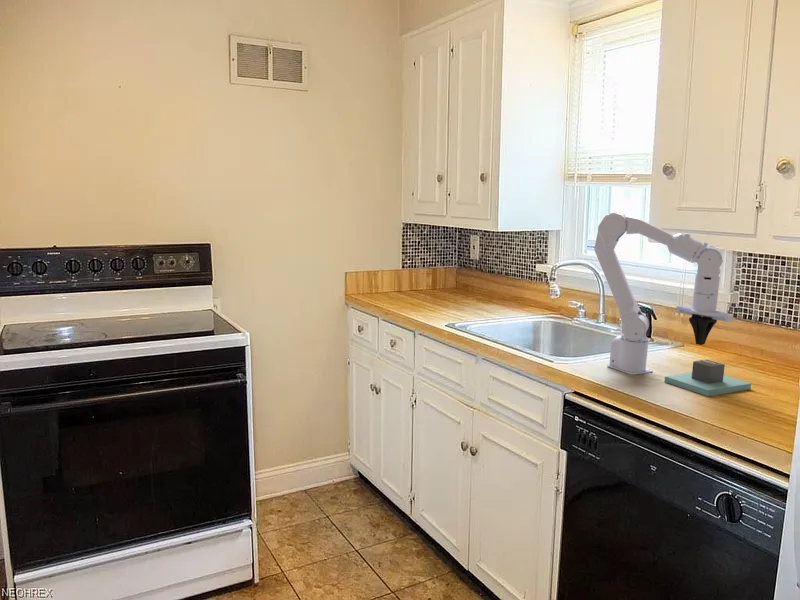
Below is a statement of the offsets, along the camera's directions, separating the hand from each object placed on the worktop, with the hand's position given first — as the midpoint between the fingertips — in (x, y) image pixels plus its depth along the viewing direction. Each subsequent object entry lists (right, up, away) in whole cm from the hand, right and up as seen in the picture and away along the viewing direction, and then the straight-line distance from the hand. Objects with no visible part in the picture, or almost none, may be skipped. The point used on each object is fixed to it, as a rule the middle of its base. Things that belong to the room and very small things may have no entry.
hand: (700, 344), depth 170 cm
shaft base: (0, -10, -5) cm, 11 cm away
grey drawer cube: (-1, -9, -5) cm, 10 cm away
